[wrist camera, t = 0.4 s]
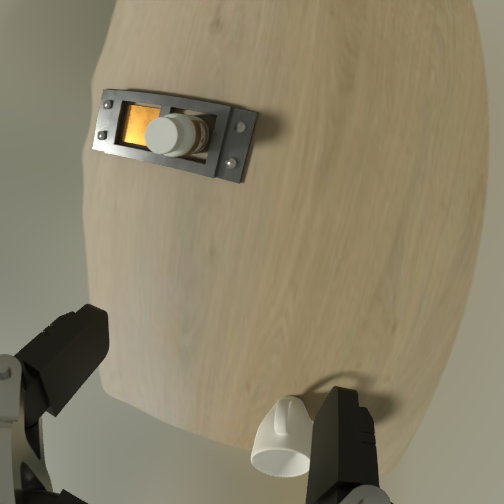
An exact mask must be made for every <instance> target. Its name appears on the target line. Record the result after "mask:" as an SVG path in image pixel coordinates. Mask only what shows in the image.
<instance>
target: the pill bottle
mask: <svg viewBox="0 0 504 504" xmlns="http://www.w3.org/2000/svg"><path fill="white" fill-rule="evenodd" d="M208 140H209V129H208V126H207V124H206V123H205V121H204V120H202V119H201V118H199V117H196V116H192V115H186V114H178V113H172V114H168V115H165V116H164V117H158V118H156V119H154V120H152V121H151V122H150V123H149V124H148V126H147V128H146V130H145V142H146V145H147V147H148V148H149V149H150V150H151V151H152V152H154V153H156V154H163V155H165V156H169V157H178V156H184V155H190V154H195V153H198V152H200V151H201V150H202V149H203V148H204V147H205V146H206V145H207V143H208Z"/></svg>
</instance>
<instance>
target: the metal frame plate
mask: <svg viewBox="0 0 504 504" xmlns="http://www.w3.org/2000/svg"><path fill="white" fill-rule="evenodd" d="M127 101H132V102H140V103H148V104H155V105H161V109H157V108H150V107H143V106H135V105H128V110H127V115H126V120H125V125H124V130H123V136H122V141H124V142H129V143H134V144H140V145H144V146H147V145H146V142H145V130H146V128H147V126H148V124H149V123H150V122H151V121H152V120H154V119H156V118H158V117H164V116H165V115H168V114H172V113H174V110H175V108H181V109H187V110H192V111H198V112H203V113H208V114H213V115H217V118H216V122H215V126H214V130H213V134H212V139H211V143H210V147H209V151H208V156H207V160H206V163H204V162H200V161H196V160H191V159H187V158H183V157H179V156H178V157H169V156H165V155H163V154H156V153H154V152H152V151H151V150H147V149H142V148H137V147H132V146H127V145H122V144H119V141H120V135H121V130H122V124H123V119H124V114H125V109H126V105H127ZM257 115H258V113H256V112H252V111H247V110H243V109H238V108H233V107H230V106H225V105H220V104H215V103H210V102H204V101H199V100H193V99H186V98H180V97H173V96H166V95H159V94H151V93H142V92H132V91H122V90H105V89H103V94H102V98H101V103H100V108H99V113H98V119H97V124H96V130H95V136H94V143H93V149H96V150H101V151H105V153H109V154H114V155H119V156H123V157H128V158H133V159H137V160H142V161H146V162H150V163H155V164H159V165H163V166H167V167H172V168H176V169H180V170H184V171H188V172H192V173H196V174H200V175H204V176H208V177H211V178H215V177H217V178H221V179H225V180H228V181H232V182H236V183H240V181H241V177H242V173H243V169H244V165H245V161H246V157H247V153H248V149H249V145H250V141H251V138H252V134H253V130H254V126H255V122H256V118H257Z"/></svg>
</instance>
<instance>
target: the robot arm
mask: <svg viewBox="0 0 504 504" xmlns="http://www.w3.org/2000/svg"><path fill="white" fill-rule="evenodd" d="M108 350H109V328H108V314H107V312H106V311H104V310H102V309H100V308H97V307H95V306H93V305H91V304H86V305H84V306H83V307H82V308H81V309H80V310H78V311H77V312H76V313H75V312H73V311H72V312H69V313H67V314H65V315H62V316H60V317H58V318H57V319H56V320H55V321H54V322H52V324H50V326H48V327H47V328H45V329H44V330H43V332H41V333H40V334H38V335H37V336H36V337H35V338H34V339H33V340H32V341H30V342H29V343H28V344H27V345H26V346H25V347H24V348H23V349H21V350H20V351H19V352H18V353H17V354H16V355H14V356H11V355H7V354H1V355H0V504H88V503H86V502H84V501H82V500H81V499H79V498H77V497H76V496H74V495H72V494H70V493H69V492H67V491H66V490H64V489H63V490H62V491H61V493H60V494H58V493H54V492H53V489H52V484H51V480H50V476H49V474H48V471H47V469H46V464H45V457H44V444H43V429H42V417H41V416H42V414H43V413H44V412H45V411H47V412H49V413H50V414H52V415H53V416H55V417H56V416H57V415H58V414H59V413H60V411H61V410H62V409H63V407H64V406H65V405H66V404H67V403H68V402H69V400H70V399H71V398H72V397H73V395H74V394H75V393H76V392H77V390H78V389H79V388H80V387H81V386H82V384H83V383H84V382H85V381H86V380H87V379H88V377H89V376H90V375H91V374H92V373H93V371H94V370H95V369H96V368H97V367H98V366H99V364H100V363H101V362H102V361H103V360H104V358H105V357H106V355H107V353H108ZM374 433H375V430H374V421H373V418H372V417H371V415H370V413H369V411H368V409H367V408H366V407H360V406H359V403H358V393H357V391H356V390H353V389H348V388H343V387H338V386H334V387H333V388H332V390H331V391H330V393H329V395H328V397H327V398H326V400H325V401H324V403H323V405H322V406H321V408H320V410H319V411H318V413H317V415H316V417H315V420H314V424H313V429H312V442H311V455H310V466H309V476H308V477H309V478H308V486H307V495H306V504H393V503H392V502H390V499H389V497H388V495H387V494H386V493H385V492H384V491H383V490H382V489H380V486H379V476H378V463H377V451H376V446H375V444H376V440H375V435H374Z"/></svg>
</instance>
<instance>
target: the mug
mask: <svg viewBox="0 0 504 504" xmlns="http://www.w3.org/2000/svg"><path fill="white" fill-rule="evenodd" d="M312 429H313V424H312V421H311V419H310V416H309V414H308V412H307V409H306V407H305V405H304V403H303V401H302V400H301V399H299V398H297V397H294V396H285V397H282V398H280V399H279V400H278V401H277V402H276V403H275V405H274V406H273V407H272V409H271V410H270V411H269V413H268V414H267V415H266V416H265V418H264V419H263V421H262V422H261V424H260V426H259V428H258V430H257V433H256V437H255V441H254V445H253V450H252V454H251V462H252V464H253V466H254V467H255V468H257V469H258V470H259V471H261V472H263V473H265V474H268V475H272V476H277V477H294V476H299V475H301V474H304V473H306V472H308V471H309V466H310V455H311V442H312Z"/></svg>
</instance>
